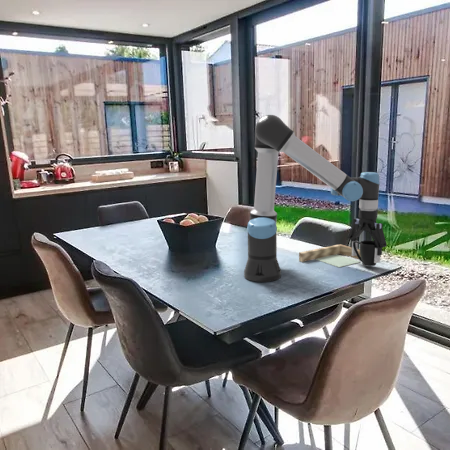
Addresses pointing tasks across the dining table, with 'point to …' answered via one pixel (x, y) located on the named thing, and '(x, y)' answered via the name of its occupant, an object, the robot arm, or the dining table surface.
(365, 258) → the mug
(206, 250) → the dining table surface
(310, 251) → the tan bent bar
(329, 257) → the mat
